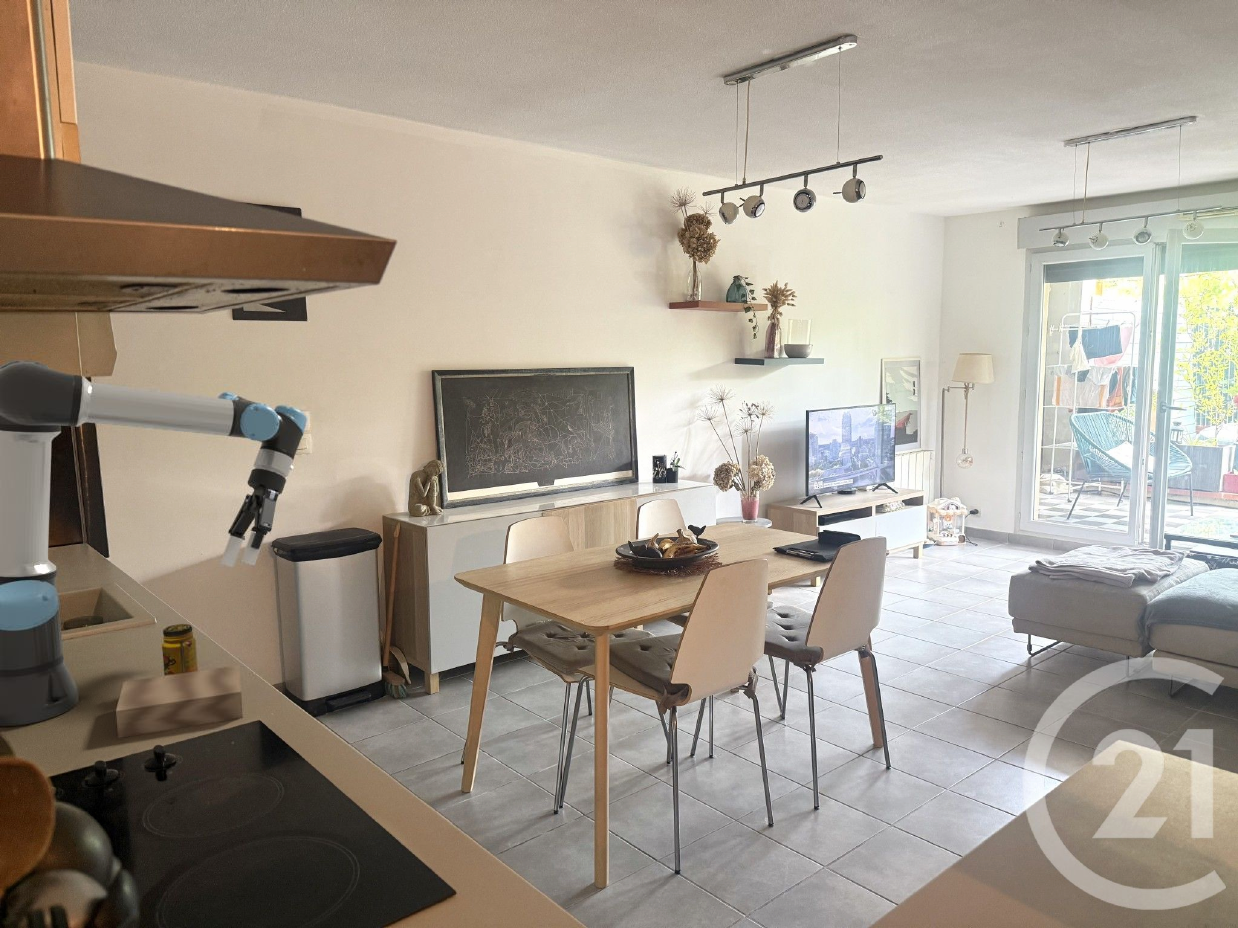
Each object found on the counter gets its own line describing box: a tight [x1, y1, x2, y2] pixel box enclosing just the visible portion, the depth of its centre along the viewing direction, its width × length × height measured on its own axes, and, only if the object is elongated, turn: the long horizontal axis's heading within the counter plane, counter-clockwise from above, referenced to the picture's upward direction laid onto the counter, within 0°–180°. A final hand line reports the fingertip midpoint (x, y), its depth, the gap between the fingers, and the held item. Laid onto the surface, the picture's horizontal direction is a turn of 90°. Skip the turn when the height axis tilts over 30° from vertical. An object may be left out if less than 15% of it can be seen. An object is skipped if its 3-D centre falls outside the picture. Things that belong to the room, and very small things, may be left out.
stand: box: [115, 664, 244, 739], centre depth 162 cm, size 20×14×5 cm
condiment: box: [161, 623, 199, 676], centre depth 175 cm, size 7×8×12 cm
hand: (236, 564), depth 187 cm, fingers open, 13 cm apart
